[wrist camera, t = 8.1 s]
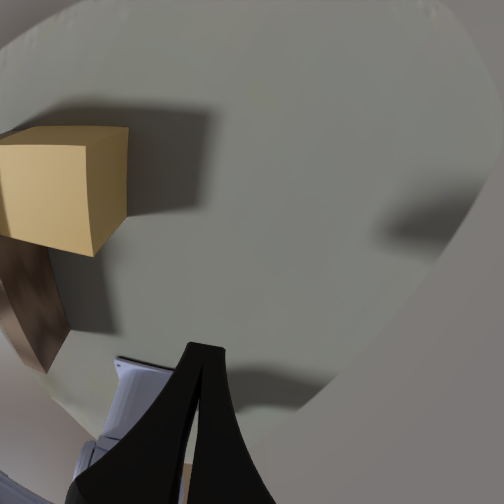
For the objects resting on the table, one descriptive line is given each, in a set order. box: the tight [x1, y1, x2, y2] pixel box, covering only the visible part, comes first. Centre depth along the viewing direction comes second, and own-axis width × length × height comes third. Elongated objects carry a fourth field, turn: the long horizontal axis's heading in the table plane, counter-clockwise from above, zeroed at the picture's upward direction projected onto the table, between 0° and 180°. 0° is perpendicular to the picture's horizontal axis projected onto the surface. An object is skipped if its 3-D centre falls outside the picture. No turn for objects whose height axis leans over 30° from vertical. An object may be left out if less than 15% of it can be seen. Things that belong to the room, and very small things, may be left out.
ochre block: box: [0, 125, 129, 257], centre depth 14 cm, size 6×8×5 cm
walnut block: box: [0, 130, 70, 374], centre depth 17 cm, size 20×3×6 cm, turn 169°
